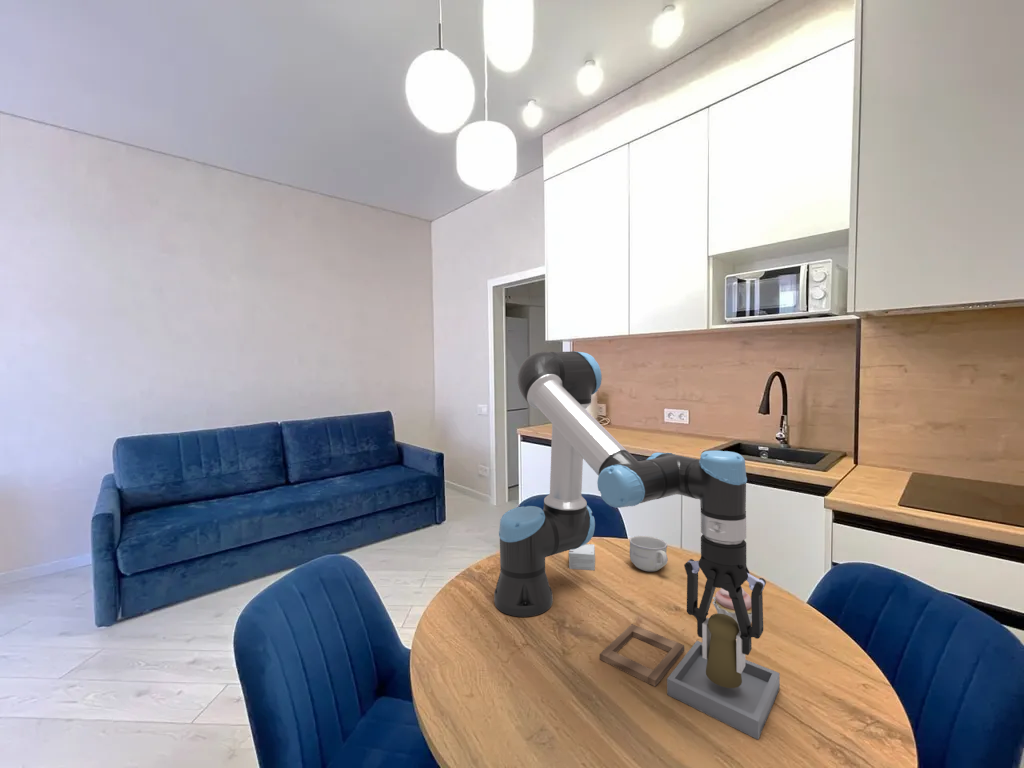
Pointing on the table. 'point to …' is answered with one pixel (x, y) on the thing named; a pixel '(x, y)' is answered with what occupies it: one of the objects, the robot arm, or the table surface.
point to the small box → (582, 557)
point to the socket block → (636, 668)
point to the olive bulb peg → (723, 651)
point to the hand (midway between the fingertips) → (723, 661)
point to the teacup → (648, 553)
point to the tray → (726, 692)
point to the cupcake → (730, 604)
